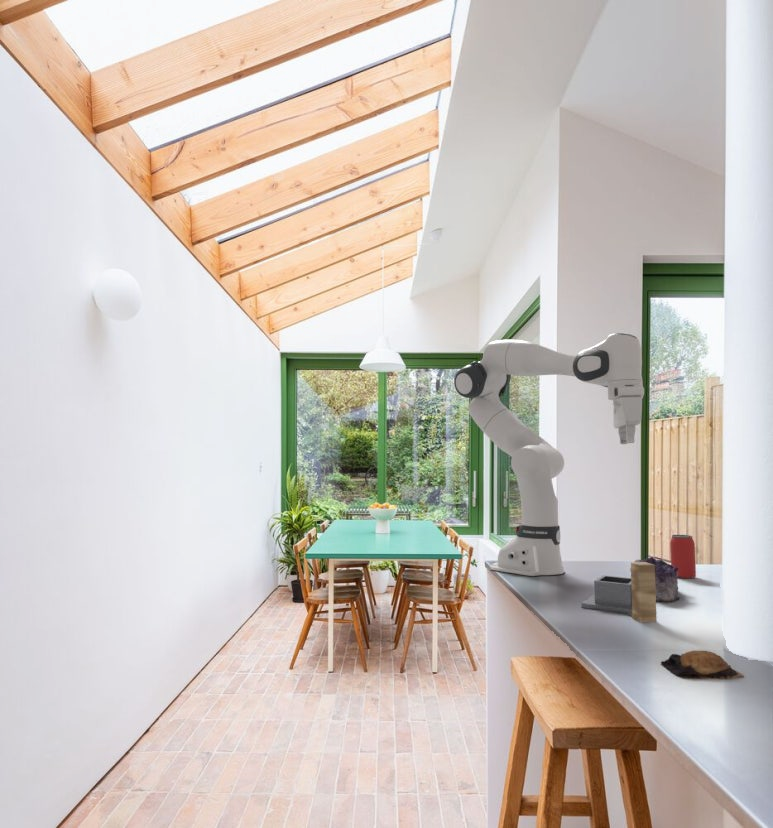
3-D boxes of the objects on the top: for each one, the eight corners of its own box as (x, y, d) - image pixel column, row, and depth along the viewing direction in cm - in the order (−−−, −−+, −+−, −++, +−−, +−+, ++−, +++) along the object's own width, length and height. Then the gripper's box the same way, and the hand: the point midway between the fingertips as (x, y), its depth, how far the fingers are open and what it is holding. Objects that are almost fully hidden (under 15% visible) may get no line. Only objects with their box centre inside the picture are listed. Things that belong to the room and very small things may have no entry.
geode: (696, 605, 144) (689, 563, 145) (646, 609, 146) (639, 568, 147) (673, 584, 164) (667, 547, 165) (629, 588, 166) (623, 552, 167)
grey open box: (581, 607, 141) (580, 581, 142) (596, 596, 152) (595, 572, 152) (640, 615, 134) (639, 588, 134) (651, 603, 145) (650, 578, 145)
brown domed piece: (716, 664, 104) (715, 642, 104) (748, 682, 95) (747, 658, 96) (655, 665, 103) (654, 643, 104) (682, 683, 95) (681, 659, 95)
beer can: (669, 577, 177) (667, 536, 178) (673, 574, 182) (671, 533, 183) (694, 580, 173) (692, 537, 174) (697, 576, 178) (696, 535, 179)
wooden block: (632, 618, 132) (630, 562, 133) (647, 617, 132) (645, 562, 133) (641, 622, 128) (639, 565, 129) (656, 621, 129) (654, 564, 130)
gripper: (607, 396, 173) (608, 444, 172) (619, 388, 153) (621, 442, 152) (630, 396, 172) (632, 444, 171) (645, 387, 152) (647, 442, 151)
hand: (627, 443), depth 161 cm, fingers open, 8 cm apart
